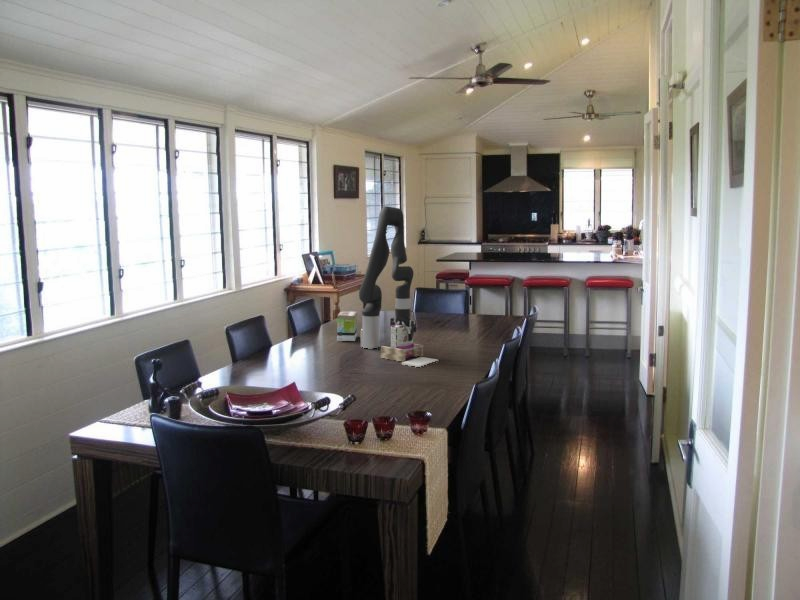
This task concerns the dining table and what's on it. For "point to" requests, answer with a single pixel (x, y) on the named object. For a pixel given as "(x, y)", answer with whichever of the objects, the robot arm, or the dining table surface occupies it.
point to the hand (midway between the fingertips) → (403, 340)
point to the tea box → (346, 326)
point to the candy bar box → (401, 339)
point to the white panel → (419, 361)
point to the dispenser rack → (400, 352)
